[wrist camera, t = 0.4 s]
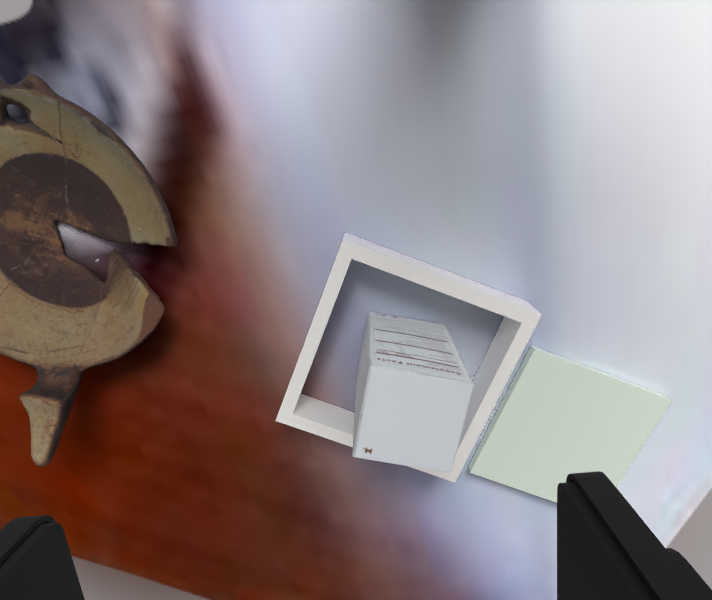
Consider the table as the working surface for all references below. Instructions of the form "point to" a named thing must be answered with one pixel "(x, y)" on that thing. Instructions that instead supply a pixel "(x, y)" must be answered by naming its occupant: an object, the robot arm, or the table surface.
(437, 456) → the supplement box
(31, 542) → the robot arm
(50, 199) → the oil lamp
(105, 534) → the table surface
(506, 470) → the pad
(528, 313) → the bin
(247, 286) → the table surface
